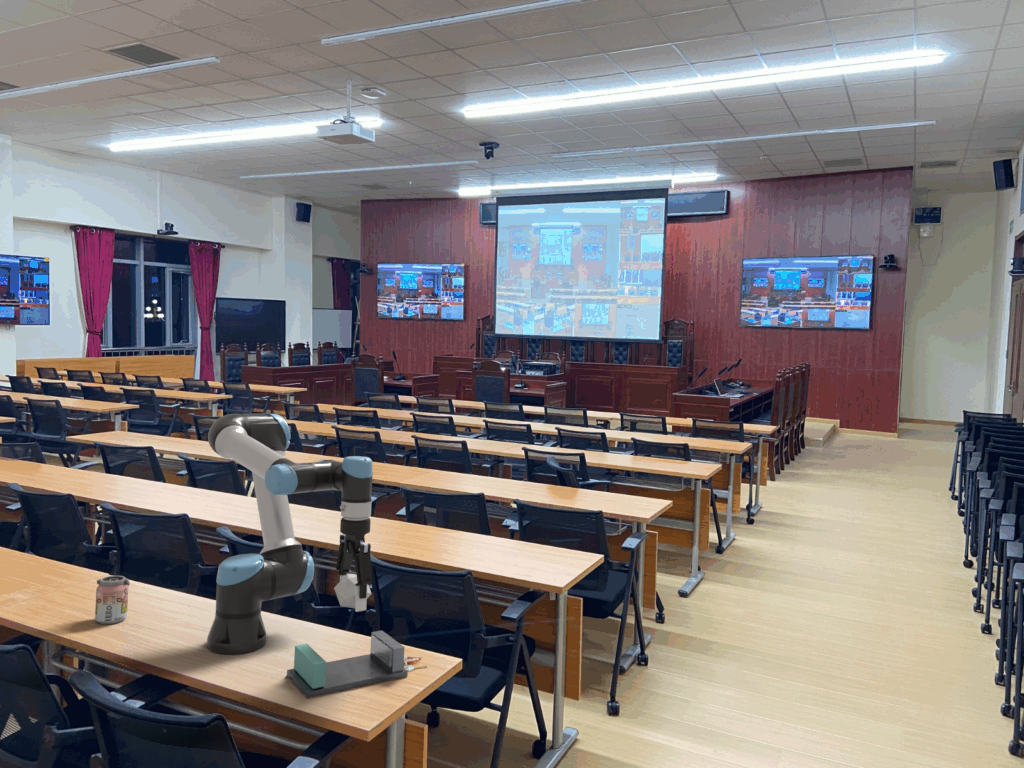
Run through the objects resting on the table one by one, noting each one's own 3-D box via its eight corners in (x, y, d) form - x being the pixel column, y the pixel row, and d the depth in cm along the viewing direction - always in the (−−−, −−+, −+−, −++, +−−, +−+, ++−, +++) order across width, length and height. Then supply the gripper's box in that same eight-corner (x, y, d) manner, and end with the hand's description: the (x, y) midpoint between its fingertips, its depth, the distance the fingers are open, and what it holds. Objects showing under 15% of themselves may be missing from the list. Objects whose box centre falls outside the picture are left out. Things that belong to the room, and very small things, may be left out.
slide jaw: (293, 668, 183) (295, 645, 183) (307, 665, 185) (308, 643, 185) (312, 688, 172) (314, 664, 172) (326, 685, 174) (328, 661, 174)
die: (375, 605, 192) (364, 571, 196) (372, 598, 184) (360, 562, 188) (345, 618, 190) (334, 583, 194) (340, 611, 182) (329, 575, 186)
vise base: (286, 676, 182) (288, 645, 182) (383, 657, 197) (384, 629, 197) (306, 698, 171) (308, 666, 171) (407, 676, 186) (409, 647, 186)
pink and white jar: (99, 614, 216) (101, 573, 216) (131, 613, 219) (133, 573, 218) (90, 625, 208) (92, 583, 207) (123, 624, 210) (125, 582, 210)
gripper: (325, 511, 195) (322, 595, 196) (360, 526, 178) (356, 619, 178) (351, 509, 200) (348, 592, 200) (388, 524, 182) (384, 614, 182)
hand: (352, 605), depth 189 cm, fingers closed on die, 9 cm apart
